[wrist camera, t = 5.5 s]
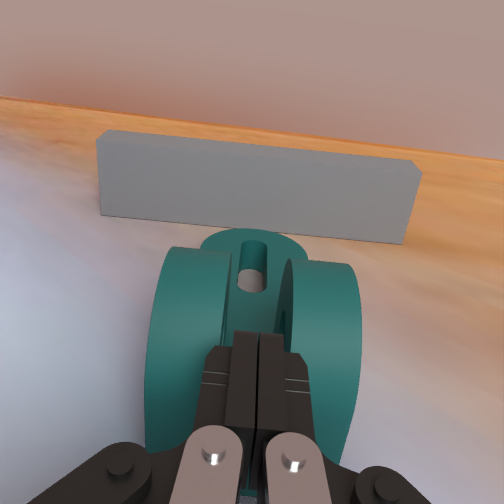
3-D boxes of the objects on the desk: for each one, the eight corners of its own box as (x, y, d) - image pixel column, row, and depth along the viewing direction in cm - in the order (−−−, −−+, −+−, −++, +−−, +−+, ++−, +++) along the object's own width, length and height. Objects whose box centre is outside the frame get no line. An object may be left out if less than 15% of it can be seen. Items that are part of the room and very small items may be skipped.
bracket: (327, 503, 17) (375, 338, 13) (146, 487, 17) (142, 315, 13) (299, 261, 33) (317, 154, 29) (205, 252, 33) (211, 143, 29)
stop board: (101, 215, 36) (96, 139, 33) (112, 200, 39) (108, 129, 36) (401, 244, 37) (422, 173, 34) (392, 228, 39) (411, 160, 37)
